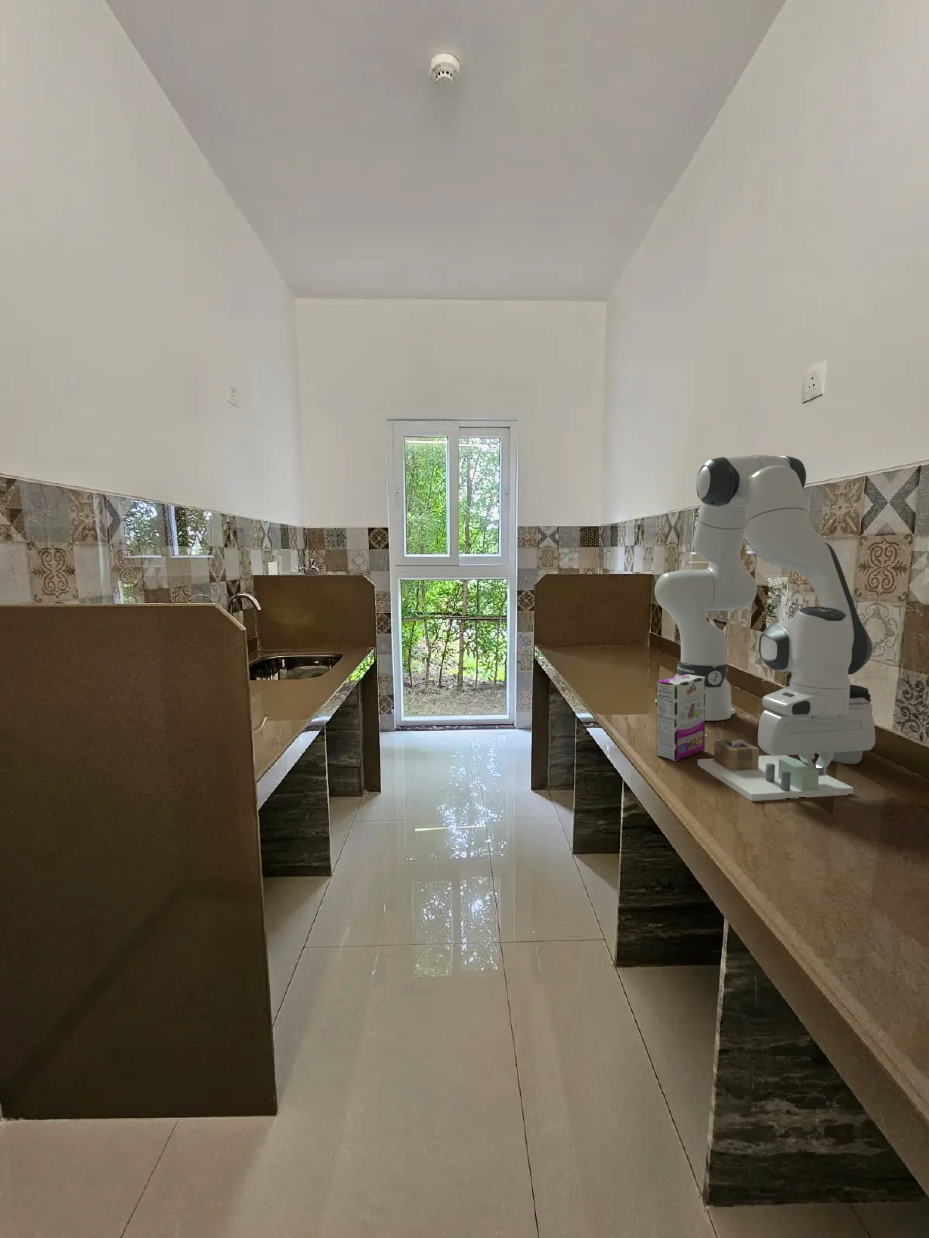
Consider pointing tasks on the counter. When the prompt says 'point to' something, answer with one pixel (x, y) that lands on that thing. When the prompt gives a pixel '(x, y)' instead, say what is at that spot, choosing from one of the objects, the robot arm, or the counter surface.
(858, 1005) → the counter surface
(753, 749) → the wooden square block
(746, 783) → the base plate
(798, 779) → the block
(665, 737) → the candy bar box
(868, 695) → the coffee cup
